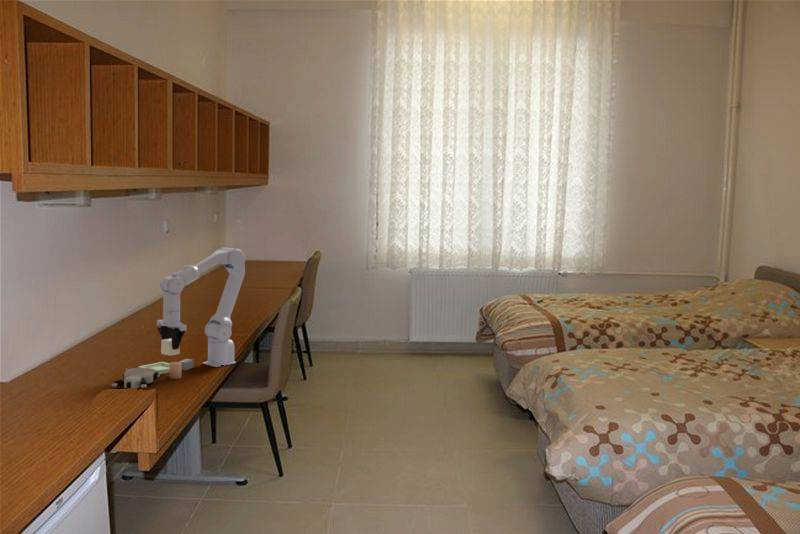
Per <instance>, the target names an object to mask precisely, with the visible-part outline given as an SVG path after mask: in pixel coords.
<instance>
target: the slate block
mask: <svg viewBox="0 0 800 534" xmlns="http://www.w3.org/2000/svg"><path fill="white" fill-rule="evenodd" d="M178 362H181V363H182V371H187V370H190V369H192V368H194V363H195V362H194V359H192V358H191V359H190V358H185V359H182V360H180V361H178Z"/></svg>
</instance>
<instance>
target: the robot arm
mask: <svg viewBox="0 0 800 534" xmlns="http://www.w3.org/2000/svg"><path fill="white" fill-rule="evenodd" d="M246 259H247V257H246V255H245V254H244V251H243V250H242V249H239V248H232V247H227V246H223V247H220V248H219V249H216V250H215V251H214V252H213V253H212V254H210V255H208V257H206V258H204V259H203V260H201V261H200V262H198V263H196V264H195V265H191V264H189V265H188V264H187V265H184V266H183V268H181V269H180V270H178V271H176V272H173V273H172V275H169V276H165V277H164V278H163V279H162V281H161V283H160V284H159V288H160V289H161V291H162V292H163V293H162V294H163V295H162V297H163V299H162V300H163V301H162V303H163V304H162V305H163V306H162V307H163V308H162V309H163V310H162V319H157V320H156V326H159V327H157V331H158V333H159V334H160V337H161V340H164V339H172V348H173V350H175V349H179V346H180V347H181V342H182V339H183V336H184V335H185V333H186V331H187V328H188V326H187V324H184V323H182V322H181V292H182V291H183V290H184V287H187V286H188V285H190V284H191V283H193V282H195V281H196V280H198V279H199V278H200V274H201V273H203V272H205V271H207V270H209V269H212V268H213V267H215V266H216V265H222V266H224V267H225V269H226V270H227V272H228V273H229V274H228V276H227V277H228V278H227V280H226V282H225V283H226V284H225V286H224V288H223V291H222V295H221V297H220V300H219V303H218V306H217V308H216V312H215V313H214V314H213V315H212V316H211V317H210V319H209V321H208V323H207V324H206V325H205V326H204V334H205V335H206V337H207V360H206V361H203V362H202V364H204V365H206V366H209V367H210V366H211V367H214V368H218V367H222V366H221V365H224V366H228V365H233V364H236V361H235V344H234V341H233V340H232V339H230V338H231V336H232V326H233V322H232V320H231V317H232V316H231V315H232V313H233V310H234V308H235V305H236V301H237V299H238V296H239V292H240V289H241V287H242V284H243V281H244V278H245V276H246V275H245V274H246V266H245V263H246Z"/></svg>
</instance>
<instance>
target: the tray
mask: <svg viewBox="0 0 800 534" xmlns="http://www.w3.org/2000/svg"><path fill="white" fill-rule="evenodd" d="M169 363H170V362H169ZM169 363H168V362H165V361H159V362H155V363H150V364H143V365H139V366H138V367H137V368H150V369H155V370H156V371H157V372H158V374H159V373H160V372H161V370H162V372H161V374H160V375H163V374H169Z"/></svg>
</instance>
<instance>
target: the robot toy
mask: <svg viewBox="0 0 800 534" xmlns="http://www.w3.org/2000/svg"><path fill="white" fill-rule="evenodd" d="M161 372H162V370H161ZM161 372H160V373H159V374H158V372H157V371H156V370H155V369H150V368H138V367H134V368H129V369H128V368H125V371H124V372H123V373H122V374H121V376H122V379H118V380H115V381H114V382H112V383H111V387H115V388H119V387H122V386H123V387H124V389H125V388H133V389H137V390H139V388H141V389H145V388H147V386H148V385H149V384H152V383H153V382H154V381H156V380H157V379H158V378H159V377H160V375H162V374H161Z"/></svg>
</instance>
